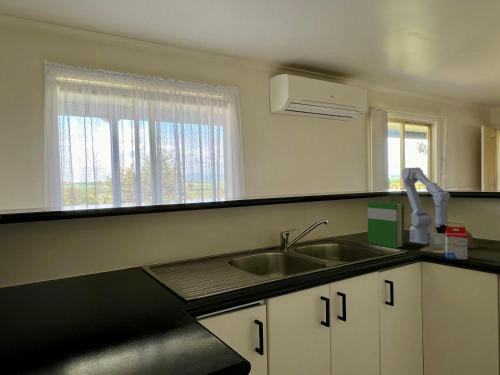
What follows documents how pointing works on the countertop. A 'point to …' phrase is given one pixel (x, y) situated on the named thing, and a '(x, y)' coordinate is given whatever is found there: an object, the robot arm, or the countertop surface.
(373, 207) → the hardback book
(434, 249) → the mat
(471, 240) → the rock
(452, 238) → the ink box
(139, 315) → the countertop surface
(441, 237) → the tile
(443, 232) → the robot arm
